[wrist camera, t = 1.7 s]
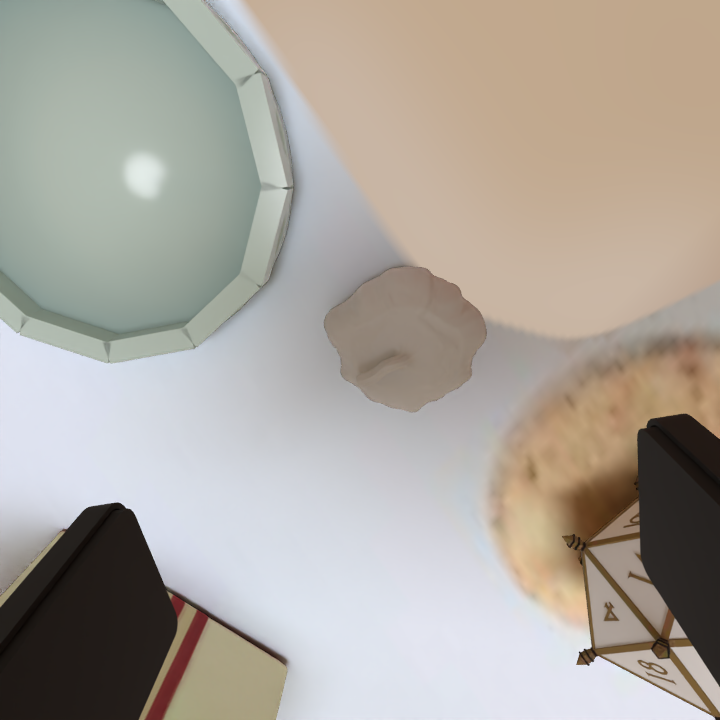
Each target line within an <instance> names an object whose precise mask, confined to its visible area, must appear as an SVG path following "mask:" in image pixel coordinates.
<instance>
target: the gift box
mask: <svg viewBox="0 0 720 720" xmlns="http://www.w3.org/2000/svg"><path fill="white" fill-rule="evenodd" d="M64 533H65V531H61V532H60V533H59V534H58V535H57V536H56V537H55V538H54V540H53V541H52V542H51V543H50V544H49V545H48V546H47V547H46V548H45V549H44V550H43V551H42V552H41V554H40V555H39V556H38V557H37V558H36V559H35V560H34V561H33V562H32V563H31V564H30V565H29V566H28V567H27V568H26V569H25V570H24V571H23V573H22V574H21V575H20V576H19V577H18V578H17V579H16V580H15V581H14V582H13V584H12V585H11V586H10V587H9V588H8V589H7V590H6V591H5V592H4V593H3V594H2V595H1V596H0V607H1V606H2V605H3V603H4V602H5V601H6V600H7V599H8V598H9V596H10V595H11V594H12V593H13V592H14V591H15V589H16V588H17V587H18V586H19V585H20V584H21V582H22V581H23V580H24V579H25V578H26V577H27V576H28V574H29V573H30V572H31V571H32V570H33V569H34V567H35V566H36V565H37V564H38V563H39V562H40V560H41V559H42V558H43V557H44V556H45V555H46V553H47V552H48V551H49V550H50V549H51V548H52V547H53V545H54V544H55V543H56V542H57V541H58V540H59V538H60V537H61V536H62V535H63V534H64ZM167 592H168V591H167ZM168 595H169V597H170V600H171V602H172V604H173V607H174V609H175V611H176V614H177V620H178V627H177V633H176V636H175V638H174V640H173V643H172V645H171V647H170V650H169V652H168V654H167V656H166V659H165V661H164V663H163V666H162V668H161V670H160V672H159V675H158V677H157V679H156V682H155V684H154V686H153V688H152V691H151V693H150V695H149V698H148V700H147V702H146V704H145V707H144V709H143V711H142V714H141V716H140V718H139V720H276V717H277V713H278V708H279V704H280V700H281V696H282V692H283V688H284V683H285V679H286V675H287V667H286V666H285V665H284V664H283V663H281V662H280V661H279V660H277V659H276V658H274V657H272V656H271V655H269V654H268V653H266V652H264V651H263V650H261V649H260V648H258V647H256V646H255V645H253V644H251V643H250V642H248V641H246V640H245V639H243V638H242V637H240V636H238V635H237V634H235V633H234V632H232V631H230V630H229V629H227V628H225V627H224V626H222V625H221V624H219V623H217V622H216V621H214V620H212V619H211V618H209V617H208V616H207V615H205V614H203V613H202V612H200V611H199V610H197V609H195V608H193V607H192V606H190V605H189V604H187V603H185V602H184V601H182V600H181V599H179V598H178V597H176V596H174V595H173V594H171V593H170V592H168Z"/></svg>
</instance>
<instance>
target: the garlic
mask: <svg viewBox="0 0 720 720" xmlns="http://www.w3.org/2000/svg"><path fill="white" fill-rule="evenodd" d="M324 328H325V330H326V332H327V335H328V338H329V340H330V342H331V344H332V345H333V346H334V347H335V348H336V349H337V352H338V353H339V355H340V357H341V365H342V366H341V375H342V377H343V378H344V379H345V380H347V381H349V382H350V383H352V384H354V385H355V386H357V387H358V388H359V389H360V390H361V391H362V392H363V393H364V394H365V395H366V397H367V398H368V399H370V400H372V401H374V402H378V403H382V404H384V405H386V406H388V407H391V408H395V409H401V410H405V411H408V412H417V411H418V410H419V409H420V408H421V407H422V406H424V405H425V404H426V403H428V402H431V401H437V400H438V399H440V398H442V397H443V396H444V395H445V394H447V393H449V392H451V391H453V390H455V389H457V388H459V387H460V386H461V385H462V384H463V383H465V382H466V381H468V380H469V379H470V377H471V375H472V369H471V365H472V358H473V356H474V355H475V353H476V351H477V349H479V348H480V347H481V346H482V344H483V343H484V341H485V339H486V335H487V331H486V326H485V322H484V319H483V317H482V315H481V313H480V312H479V310H478V309H477V308H476V307H474V306H473V305H472V304H471V303H470V302H468V301H467V300H465V299H464V298H463V297H462V294H461V291H460V289H459V287H458V286H456V285H455V284H453V283H449V282H447V281H446V280H444V279H441V278H439V277H436V276H434V275H433V274H432V273H431V272H430V271H429V270H428V269H426V268H422V267H411V266H405V267H400V268H391V269H388V270H386V271H385V272H384V273H382V274H381V275H380V276H378V277H376V278H374V279H372V280H369V281H367V282H365V283H364V284H362V285H361V286H360V287H359V288H358V289H357V290H356V291H355V293H354V294H353V295H352V296H351V297H350V298H349V299H348V300H346V301H345V302H344V303H342V304H340V305H338V306H336V307H334V308H333V309H331V310H330V311H329V312H328V313H327V315H326V317H325V320H324Z"/></svg>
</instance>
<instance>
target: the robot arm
mask: <svg viewBox="0 0 720 720" xmlns="http://www.w3.org/2000/svg"><path fill="white" fill-rule="evenodd" d="M637 443H638V483H639V523H640V554H641V560H642V564H643V567H644V569H645V572H646V574H647V575H648V577H649V579H650V580H651V582H652V583H653V585H654V586H655V588H656V590H657V591H658V593H659V594H660V596H661V597H662V599H663V600H664V602H665V603H666V605H667V607H668V608H669V610H670V611H671V613H672V614H673V616H674V617H675V619H676V620H677V622H678V624H679V625H680V627H681V628H682V630H683V631H684V633H685V634H686V636H687V637H688V639H689V641H690V642H691V644H692V645H693V647H694V648H695V650H696V651H697V653H698V655H699V656H700V658H701V659H702V661H703V662H704V664H705V665H706V667H707V668H708V670H709V672H710V673H711V675H712V676H713V678H714V679H715V681H716V682H717V684H718V685H719V687H720V439H719V438H717V437H716V436H715V435H714V434H712V433H711V432H710V431H709V430H707V429H706V428H705V427H704V426H703V425H701V424H700V423H699V422H698V421H696V420H695V419H694V418H693V417H692V416H690V415H688V414H679V415H673V416H666V417H660V418H654V419H650V420H649V421H648V423H647V428H644V429H640V430H639V431H638V436H637ZM177 627H178V620H177V614H176V611H175V609H174V607H173V604H172V602H171V600H170V597H169V595H168V592H167V590H166V588H165V585H164V583H163V581H162V578H161V576H160V573H159V571H158V569H157V566H156V564H155V561H154V559H153V557H152V554H151V552H150V550H149V547H148V545H147V542H146V540H145V538H144V535H143V533H142V531H141V528H140V526H139V523H138V521H137V519H136V516H135V514H134V513H133V511H132V510H131V509H126V508H125V506H123V505H122V504H121V503H111V504H104V505H98V506H91V507H88V508H86V509H85V510H84V511H83V512H82V513H81V514H80V515H79V516H78V517H77V519H76V520H75V521H74V522H73V523H72V524H71V526H70V527H69V528H68V529H67V530H66V531H65V533H64V534H63V535H62V536H61V537H60V538H59V540H58V541H57V542H56V543H55V544H54V545H53V547H52V548H51V549H50V550H49V551H48V552H47V553H46V555H45V556H44V557H43V558H42V559H41V560H40V562H39V563H38V564H37V565H36V566H35V567H34V569H33V570H32V571H31V572H30V573H29V574H28V576H27V577H26V578H25V579H24V580H23V581H22V582H21V584H20V585H19V586H18V587H17V588H16V589H15V591H14V592H13V593H12V594H11V595H10V596H9V598H8V599H7V600H6V601H5V602H4V603H3V605H2V606H1V607H0V720H139V718H140V716H141V714H142V711H143V709H144V707H145V704H146V702H147V700H148V698H149V695H150V693H151V691H152V688H153V686H154V684H155V682H156V679H157V677H158V675H159V672H160V670H161V668H162V666H163V663H164V661H165V659H166V656H167V654H168V652H169V650H170V647H171V645H172V643H173V640H174V638H175V636H176V633H177Z"/></svg>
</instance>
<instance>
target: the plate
mask: <svg viewBox="0 0 720 720" xmlns="http://www.w3.org/2000/svg"><path fill="white" fill-rule="evenodd" d="M266 75H267V74H266V73H265V72H264V71H263V69H262V68H261V67H260V66H259V65H258V63H257V61H256V60H255V58H254V56H253V55H252V54H251V52H250V51H249V50H248V48H247V47H246V46H245V44H244V43H243V42H242V40H241V39H240V38H239V36H238V35H237V34H236V33H235V32H234V31H233V29H232V28H231V27H230V26H229V25H228V24H227V23H226V22H225V21H224V20H223V19H222V18H221V17H220V16H219V15H218V14H217V13H216V12H215V11H214V10H213V9H212V8H211V7H210V6H209V5H208V4H207V3H206V1H205V0H0V318H1V319H2V320H3V321H4V322H5V323H6V324H7V325H8V326H9V327H11V328H12V329H13V330H14V331H15V332H16V333H19V332H20V335H22V336H25V337H28V338H31V339H34V340H37V341H40V342H43V343H46V344H49V345H52V346H55V347H59V348H62V349H65V350H68V351H71V352H74V353H77V354H80V355H83V356H86V357H89V358H92V359H96V360H99V361H102V362H105V363H109V362H110V363H111V364H112V363H117V362H123V361H128V360H134V359H140V358H145V357H151V356H156V355H162V354H167V353H173V352H178V351H184V350H189V349H195V348H196V347H198V346H199V345H200V344H201V343H202V342H203V341H204V340H205V339H207V338H208V337H209V336H210V335H211V334H212V333H213V332H214V331H215V330H216V329H217V328H218V327H219V326H221V325H222V324H223V323H224V322H225V321H226V320H228V319H229V318H230V317H231V316H233V315H234V314H235V313H236V312H237V311H238V310H240V309H241V308H242V307H243V306H244V305H245V304H246V302H247V301H248V300H249V299H250V298H251V297H252V296H253V295H254V294H255V293H256V292H257V291H258V290H259V289H261V288H262V287H263V286H264V285H265V284H266V283H267V281H268V280H269V278H270V274H271V271H272V267H273V265H274V263H275V261H276V259H277V257H278V255H279V253H280V250H281V247H282V244H283V241H284V238H285V236H286V232H287V227H288V223H289V218H290V213H291V204H292V193H293V190H294V189H293V185H294V184H293V177H292V159H291V153H290V148H289V142H288V136H287V132H286V128H285V125H284V122H283V118H282V115H281V111H280V108H279V106H278V103H277V101H276V99H275V96H274V94H273V92H272V89H271V86H270V82H269V78H268V77H266Z"/></svg>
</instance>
